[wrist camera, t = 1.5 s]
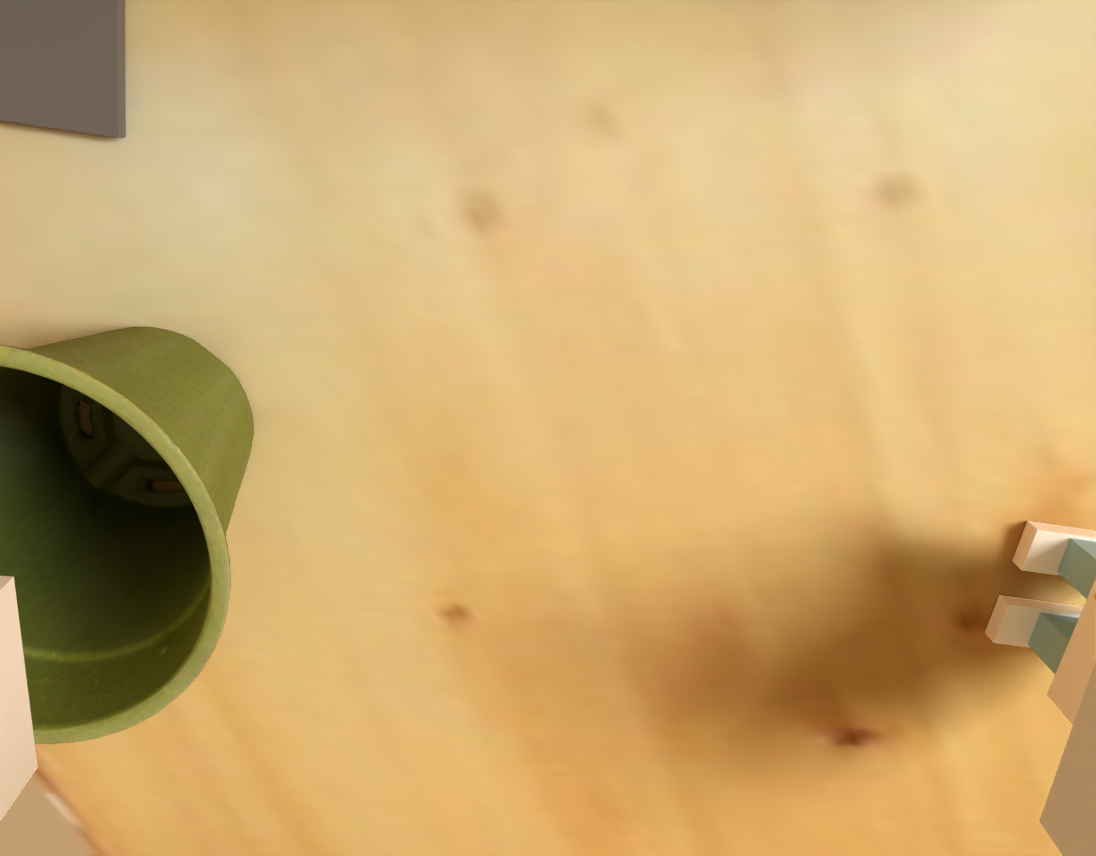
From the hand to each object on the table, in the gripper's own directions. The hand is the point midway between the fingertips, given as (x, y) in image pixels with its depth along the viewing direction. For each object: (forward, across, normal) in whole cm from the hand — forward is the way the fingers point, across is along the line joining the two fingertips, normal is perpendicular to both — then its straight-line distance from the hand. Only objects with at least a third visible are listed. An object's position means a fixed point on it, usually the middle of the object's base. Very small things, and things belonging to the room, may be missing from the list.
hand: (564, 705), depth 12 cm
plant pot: (+24, -14, -6) cm, 28 cm away
